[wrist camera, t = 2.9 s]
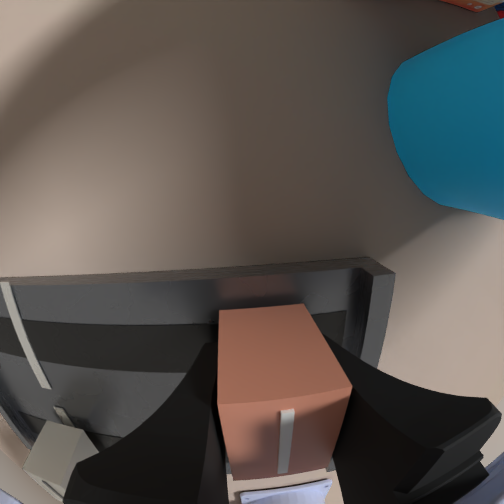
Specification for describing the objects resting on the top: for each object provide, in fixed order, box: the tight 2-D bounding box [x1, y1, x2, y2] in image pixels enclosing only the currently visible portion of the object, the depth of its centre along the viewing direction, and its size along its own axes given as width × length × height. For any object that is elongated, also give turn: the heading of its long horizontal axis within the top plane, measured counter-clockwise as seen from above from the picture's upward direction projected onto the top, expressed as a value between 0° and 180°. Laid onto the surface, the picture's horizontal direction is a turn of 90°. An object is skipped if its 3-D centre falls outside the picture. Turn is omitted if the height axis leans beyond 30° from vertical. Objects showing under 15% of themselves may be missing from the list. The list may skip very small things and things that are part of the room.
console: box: [0, 257, 396, 474], centre depth 11 cm, size 14×24×2 cm, turn 92°
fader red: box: [217, 303, 352, 481], centre depth 8 cm, size 4×3×5 cm
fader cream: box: [22, 420, 99, 502], centre depth 9 cm, size 4×3×5 cm
